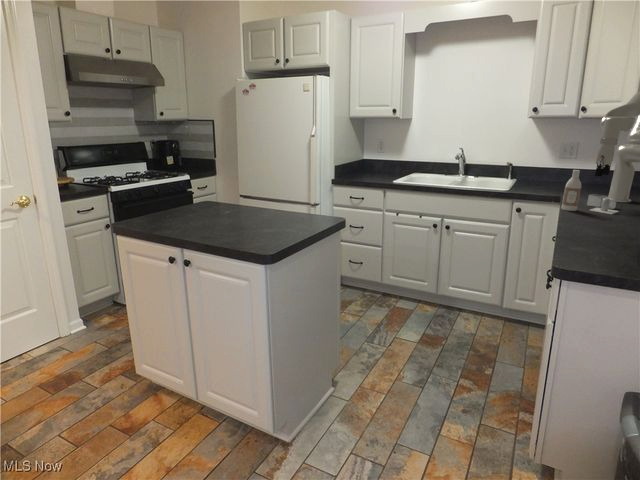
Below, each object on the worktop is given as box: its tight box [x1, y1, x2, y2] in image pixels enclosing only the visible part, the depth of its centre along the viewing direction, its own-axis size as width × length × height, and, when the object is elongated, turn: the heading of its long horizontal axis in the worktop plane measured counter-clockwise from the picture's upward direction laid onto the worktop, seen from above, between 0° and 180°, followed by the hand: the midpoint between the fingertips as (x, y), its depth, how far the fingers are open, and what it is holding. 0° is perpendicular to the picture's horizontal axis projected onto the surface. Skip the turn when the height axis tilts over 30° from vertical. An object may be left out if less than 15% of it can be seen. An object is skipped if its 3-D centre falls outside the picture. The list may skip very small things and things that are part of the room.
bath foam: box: [561, 169, 582, 212], centre depth 215 cm, size 7×7×20 cm
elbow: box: [586, 193, 618, 210], centre depth 227 cm, size 12×6×6 cm, turn 40°
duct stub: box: [589, 198, 620, 215], centre depth 216 cm, size 10×10×6 cm
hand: (601, 175), depth 225 cm, fingers open, 9 cm apart
